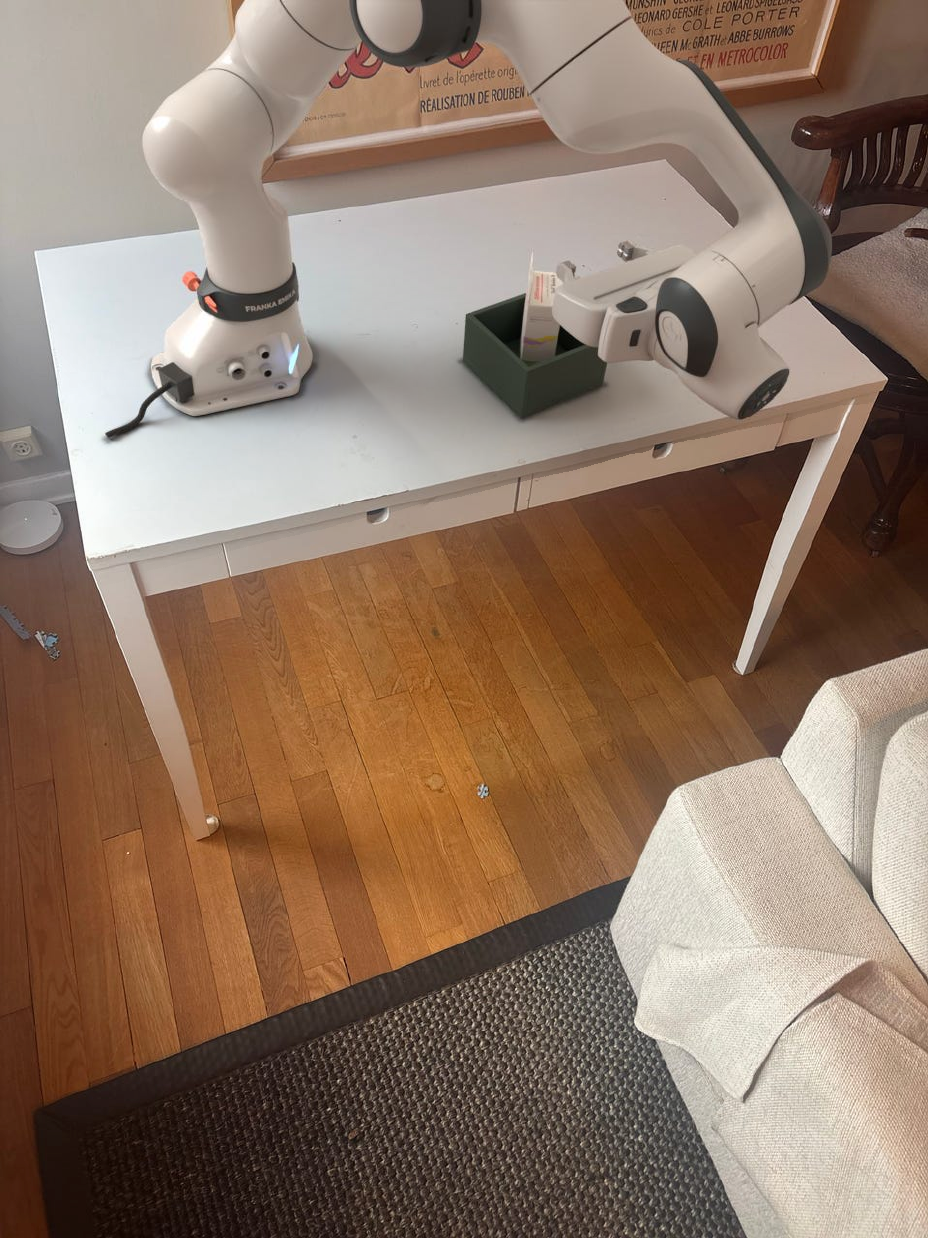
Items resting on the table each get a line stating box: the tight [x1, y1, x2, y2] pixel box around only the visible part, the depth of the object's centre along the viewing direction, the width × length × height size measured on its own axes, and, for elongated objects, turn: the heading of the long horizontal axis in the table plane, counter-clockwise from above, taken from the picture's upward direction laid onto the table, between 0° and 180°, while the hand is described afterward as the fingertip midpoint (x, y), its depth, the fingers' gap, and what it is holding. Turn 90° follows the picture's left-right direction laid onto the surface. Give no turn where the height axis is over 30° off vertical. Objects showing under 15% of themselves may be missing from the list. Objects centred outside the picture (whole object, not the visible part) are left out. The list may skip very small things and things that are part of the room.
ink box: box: [520, 251, 564, 367], centre depth 134 cm, size 9×5×15 cm, turn 176°
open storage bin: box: [462, 292, 608, 419], centre depth 136 cm, size 15×15×8 cm
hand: (592, 256), depth 116 cm, fingers open, 8 cm apart
